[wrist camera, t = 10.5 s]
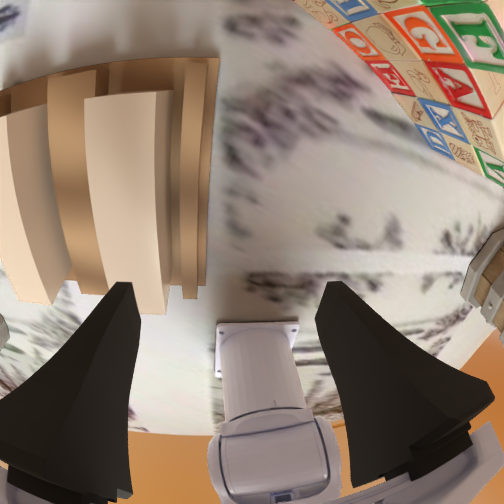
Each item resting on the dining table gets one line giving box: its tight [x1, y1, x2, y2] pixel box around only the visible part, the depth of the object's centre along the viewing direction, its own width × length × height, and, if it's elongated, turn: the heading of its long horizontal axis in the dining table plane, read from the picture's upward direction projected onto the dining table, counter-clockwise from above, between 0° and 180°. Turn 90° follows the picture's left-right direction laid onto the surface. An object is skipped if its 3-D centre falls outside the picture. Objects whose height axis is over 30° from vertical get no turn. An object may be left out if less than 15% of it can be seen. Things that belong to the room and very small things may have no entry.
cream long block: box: [84, 90, 174, 315], centre depth 14 cm, size 12×3×5 cm, turn 174°
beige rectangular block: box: [0, 103, 72, 306], centre depth 13 cm, size 12×3×5 cm, turn 173°
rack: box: [0, 57, 220, 299], centre depth 15 cm, size 16×16×3 cm
